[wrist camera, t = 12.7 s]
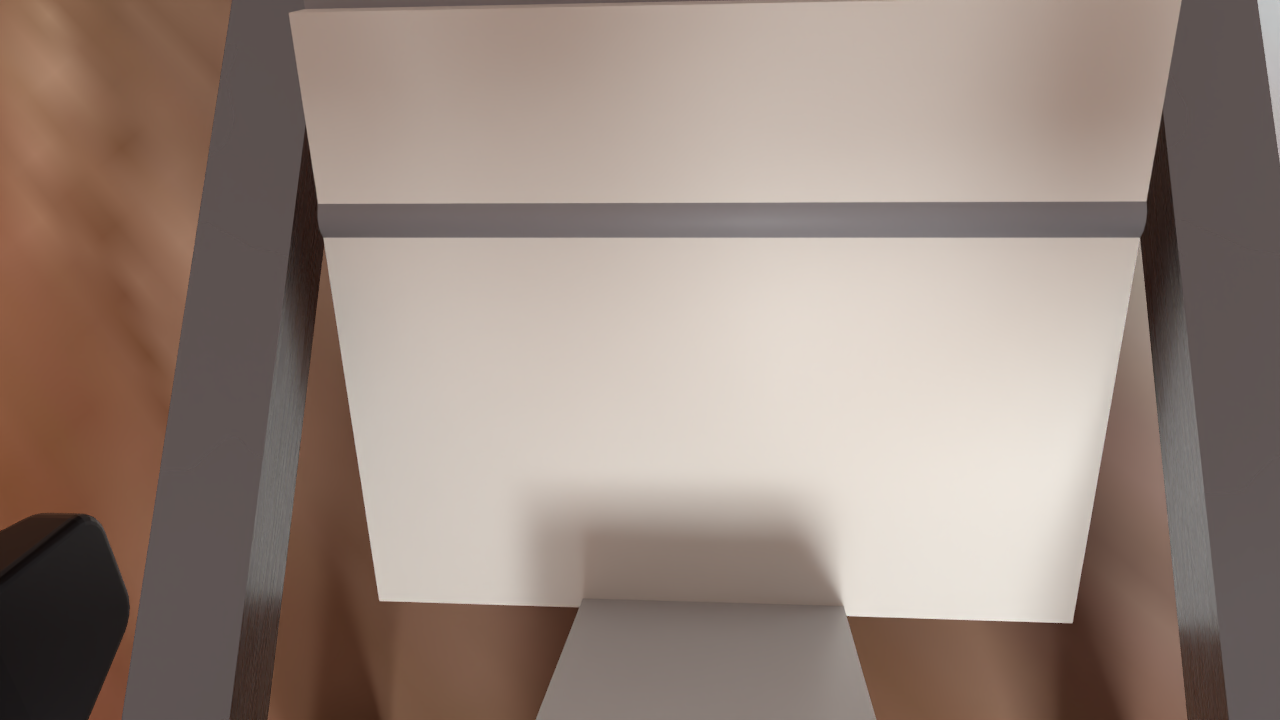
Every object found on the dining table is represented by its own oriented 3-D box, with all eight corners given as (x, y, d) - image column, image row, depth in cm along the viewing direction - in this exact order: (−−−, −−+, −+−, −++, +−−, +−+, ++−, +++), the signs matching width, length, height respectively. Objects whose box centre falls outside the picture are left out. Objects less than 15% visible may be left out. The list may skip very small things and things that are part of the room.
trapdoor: (338, -110, 16) (266, -113, 14) (1132, -134, 15) (1210, -144, 13) (420, 521, 21) (377, 604, 18) (1031, 536, 20) (1074, 626, 17)
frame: (391, 33, 24) (262, -198, 18) (1078, 20, 23) (1224, -235, 16) (306, 830, 20) (88, 932, 13) (1152, 875, 18) (1397, 1014, 12)
